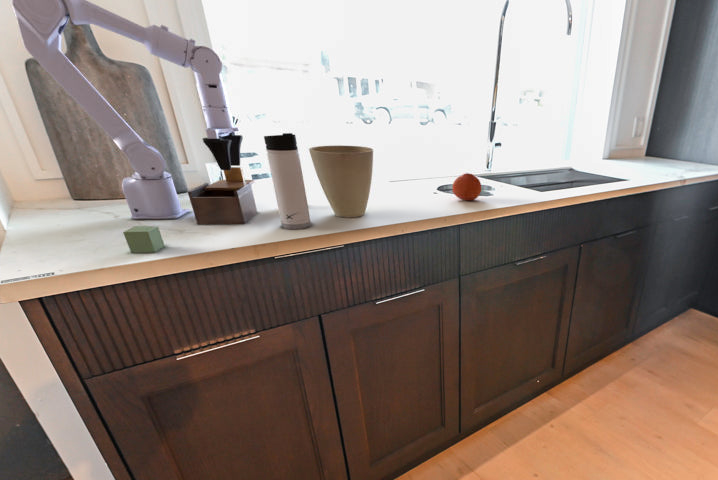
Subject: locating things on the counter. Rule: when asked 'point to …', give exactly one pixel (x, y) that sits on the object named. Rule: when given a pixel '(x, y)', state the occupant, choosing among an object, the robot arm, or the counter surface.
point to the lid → (231, 180)
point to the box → (222, 205)
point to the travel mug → (288, 180)
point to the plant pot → (344, 177)
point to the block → (144, 239)
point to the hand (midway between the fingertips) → (230, 167)
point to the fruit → (467, 187)
